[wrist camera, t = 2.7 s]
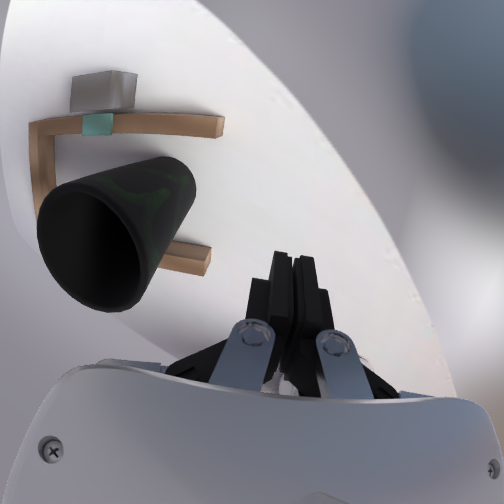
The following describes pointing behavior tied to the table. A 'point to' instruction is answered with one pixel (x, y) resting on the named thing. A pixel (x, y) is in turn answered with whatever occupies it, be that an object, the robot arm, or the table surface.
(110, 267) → the cup
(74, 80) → the beam slot
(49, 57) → the table surface
